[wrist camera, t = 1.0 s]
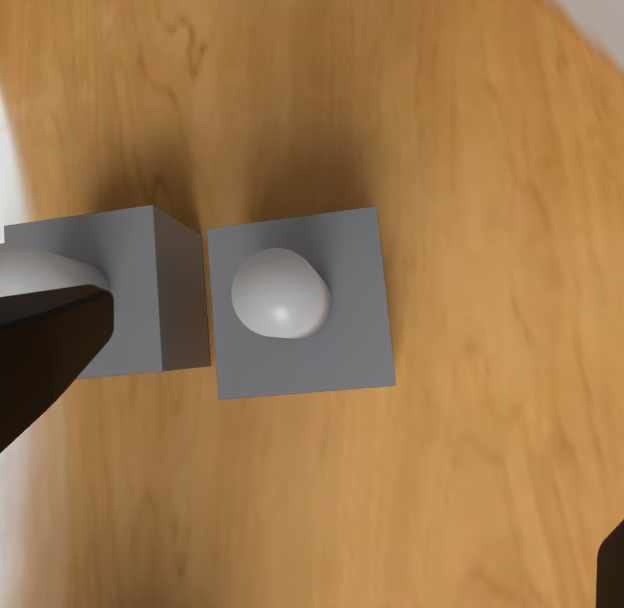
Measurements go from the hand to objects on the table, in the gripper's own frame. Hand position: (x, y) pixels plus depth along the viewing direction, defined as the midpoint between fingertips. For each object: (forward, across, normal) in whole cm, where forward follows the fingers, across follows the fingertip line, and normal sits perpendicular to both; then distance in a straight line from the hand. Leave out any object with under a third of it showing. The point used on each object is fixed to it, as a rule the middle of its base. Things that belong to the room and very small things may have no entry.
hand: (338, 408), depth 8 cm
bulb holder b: (+14, +4, +8) cm, 16 cm away
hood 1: (+12, +13, +10) cm, 20 cm away
